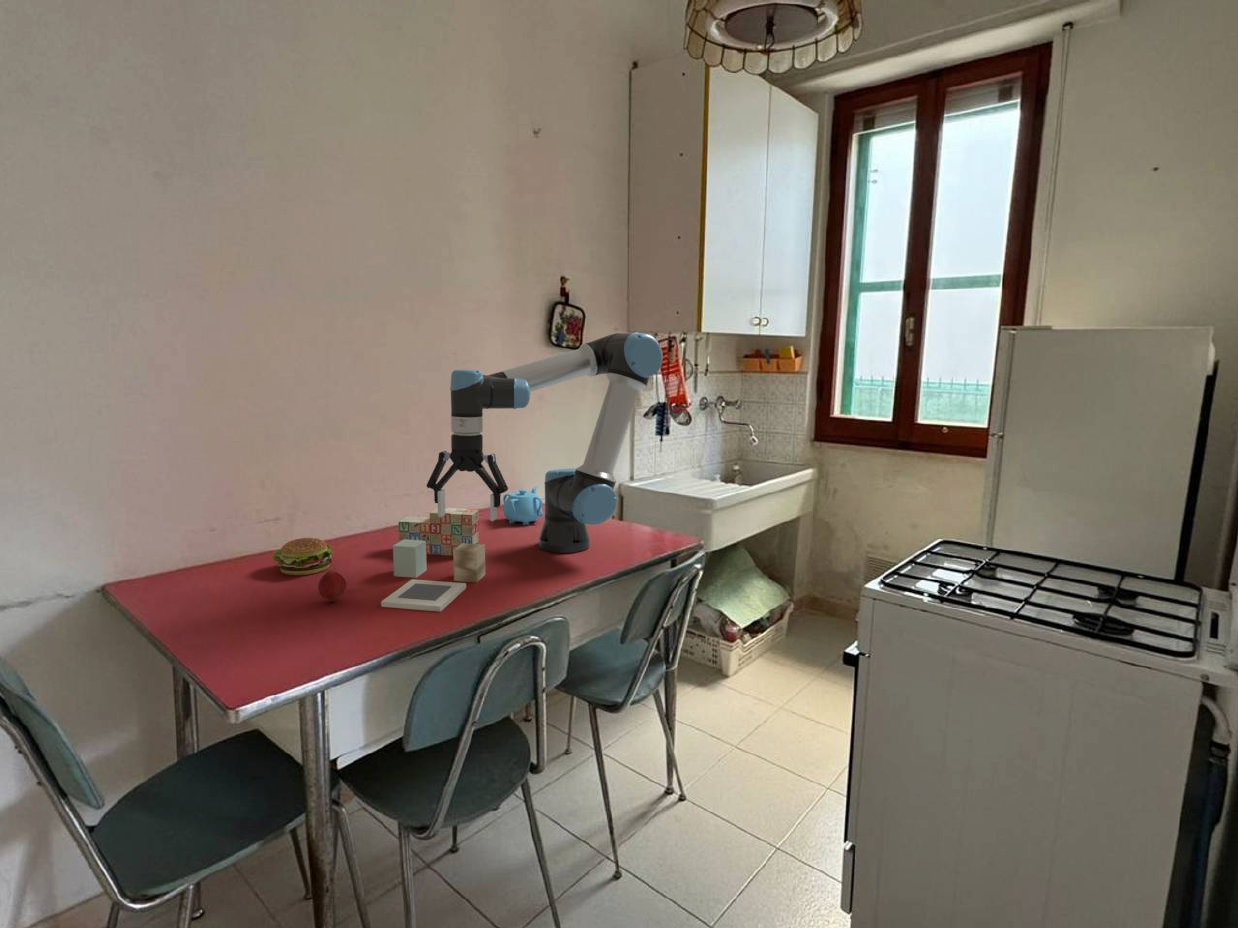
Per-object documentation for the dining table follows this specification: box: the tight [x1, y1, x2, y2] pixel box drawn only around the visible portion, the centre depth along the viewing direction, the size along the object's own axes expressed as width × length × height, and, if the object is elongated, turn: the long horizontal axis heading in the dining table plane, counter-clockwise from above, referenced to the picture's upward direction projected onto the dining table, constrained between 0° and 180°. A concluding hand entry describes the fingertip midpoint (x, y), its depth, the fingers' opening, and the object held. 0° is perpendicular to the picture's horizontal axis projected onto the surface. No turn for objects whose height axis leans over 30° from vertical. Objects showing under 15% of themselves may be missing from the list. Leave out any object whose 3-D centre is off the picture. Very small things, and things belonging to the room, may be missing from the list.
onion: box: [317, 567, 347, 603], centre depth 152 cm, size 6×6×8 cm
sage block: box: [392, 539, 428, 579], centre depth 172 cm, size 6×6×8 cm
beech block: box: [452, 543, 486, 583], centre depth 170 cm, size 6×6×8 cm
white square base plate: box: [380, 578, 467, 612], centre depth 156 cm, size 14×15×1 cm
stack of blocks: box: [398, 507, 480, 557], centre depth 190 cm, size 21×6×12 cm, turn 84°
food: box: [271, 537, 334, 576], centre depth 173 cm, size 14×14×8 cm
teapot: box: [502, 486, 544, 526], centre depth 225 cm, size 13×14×11 cm
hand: (467, 518), depth 167 cm, fingers open, 13 cm apart
